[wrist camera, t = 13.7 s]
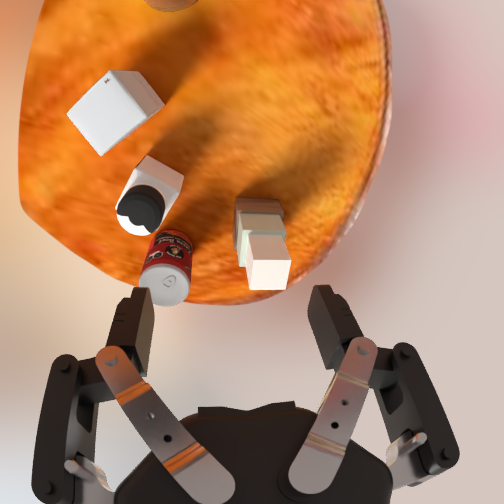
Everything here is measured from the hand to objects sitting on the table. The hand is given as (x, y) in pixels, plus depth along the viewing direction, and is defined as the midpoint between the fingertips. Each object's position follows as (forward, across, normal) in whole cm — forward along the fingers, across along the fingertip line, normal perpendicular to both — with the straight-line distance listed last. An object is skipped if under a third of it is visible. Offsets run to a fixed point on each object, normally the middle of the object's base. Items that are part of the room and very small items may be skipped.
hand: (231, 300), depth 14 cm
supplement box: (+33, +13, -7) cm, 36 cm away
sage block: (+28, -6, +12) cm, 31 cm away
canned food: (+33, +8, +18) cm, 39 cm away
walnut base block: (+33, -6, +12) cm, 36 cm away
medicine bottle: (+33, +10, +6) cm, 35 cm away
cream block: (+23, -6, +12) cm, 27 cm away
